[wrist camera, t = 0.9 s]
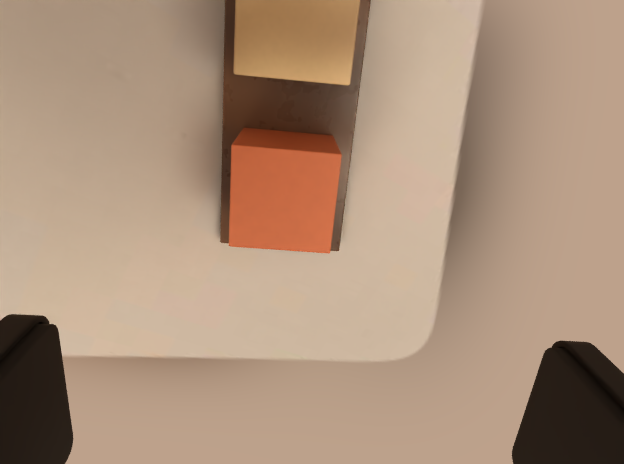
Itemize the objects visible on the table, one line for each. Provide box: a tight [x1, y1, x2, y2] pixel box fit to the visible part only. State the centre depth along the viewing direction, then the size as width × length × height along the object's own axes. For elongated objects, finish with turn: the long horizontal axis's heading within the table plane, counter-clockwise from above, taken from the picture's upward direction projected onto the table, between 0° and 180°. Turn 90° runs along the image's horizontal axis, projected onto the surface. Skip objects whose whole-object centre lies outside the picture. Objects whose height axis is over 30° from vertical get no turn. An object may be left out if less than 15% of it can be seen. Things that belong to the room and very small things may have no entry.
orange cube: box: [229, 128, 342, 253], centre depth 21 cm, size 4×4×4 cm
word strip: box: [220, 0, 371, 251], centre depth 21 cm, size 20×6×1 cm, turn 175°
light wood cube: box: [234, 0, 360, 86], centre depth 18 cm, size 4×4×4 cm
